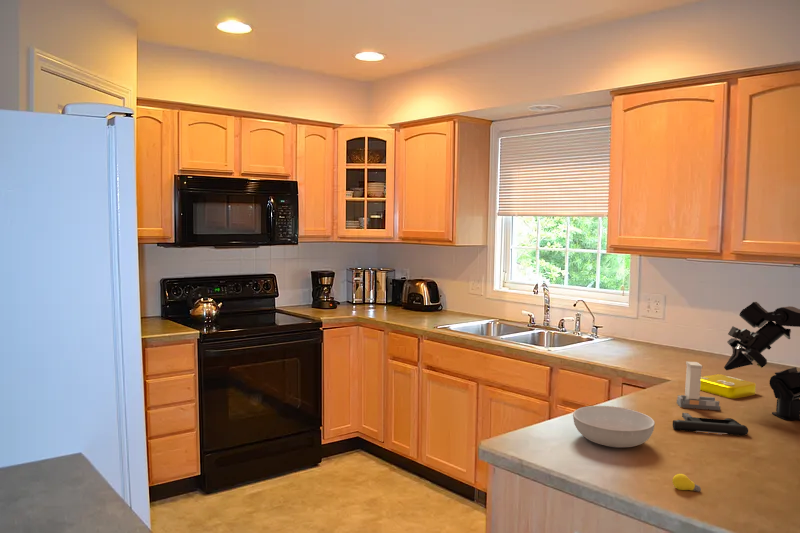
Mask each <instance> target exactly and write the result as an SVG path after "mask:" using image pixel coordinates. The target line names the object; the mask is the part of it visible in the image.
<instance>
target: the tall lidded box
mask: <svg viewBox="0 0 800 533" xmlns="http://www.w3.org/2000/svg"><path fill="white" fill-rule="evenodd" d="M685 365H686V371H685V384H684V385H685V386H684V387H685V388H684V395H686V399H696V400H698V399H700V396H701V395H700V394H701V390H700V384H701V377H702V369H703V365H702V364H700V363H699V362H698V361H687V360H686V361H685Z"/></svg>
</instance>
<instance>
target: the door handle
mask: <svg viewBox="0 0 800 533" xmlns="http://www.w3.org/2000/svg"><path fill="white" fill-rule="evenodd" d="M681 417H682V419H676V420H672V429H673V430H676V431H680V430H685V431H684V432H693V431H696V432H695V433H697V432H708V433H707V434H709V433H718V434H717V435H722V434H728V435H730V434H733V435H732V436H742V435H745V436H747V435H748V434H749V428H748V427H747V425H744V424H741V423H739V422H738V421H737V420H735V419H733V418H729V417H727V418H724V419H721V418H720V419H719V418H708V417H707V418H706V417H693V416H692V415H691V414H690V413H688V412H681Z"/></svg>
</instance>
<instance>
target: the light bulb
mask: <svg viewBox="0 0 800 533" xmlns="http://www.w3.org/2000/svg"><path fill="white" fill-rule="evenodd" d="M672 477H673V478H672V484H673V487H674V488H676V489H677V490H679V491H694V492H701V491H702V488H701V486H700V485H698V484H696V483H695V482H694V481H692V480H691V479H690V478H689V477H688V476H687V475H686V474H684V473H677V474H675V475H674V476H672Z"/></svg>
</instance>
